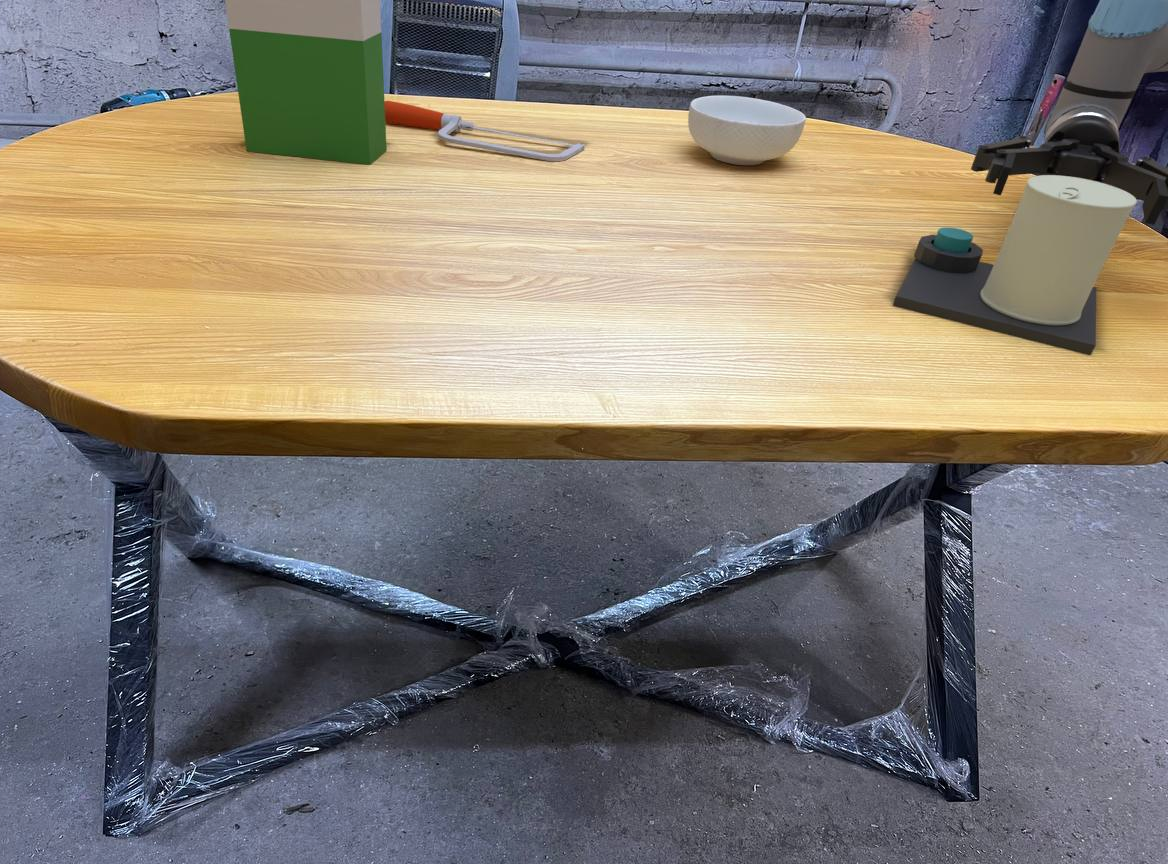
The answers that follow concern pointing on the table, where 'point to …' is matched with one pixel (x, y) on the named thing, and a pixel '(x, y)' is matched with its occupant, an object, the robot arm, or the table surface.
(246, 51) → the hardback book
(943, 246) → the tare button
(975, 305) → the scale
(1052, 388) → the table surface
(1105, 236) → the can
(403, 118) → the hand saw
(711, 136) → the cereal bowl
